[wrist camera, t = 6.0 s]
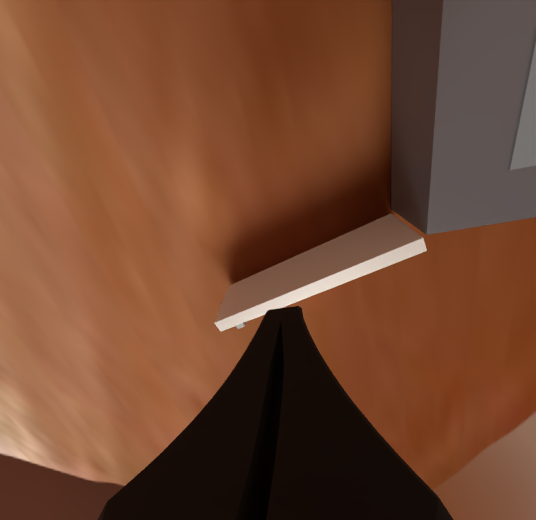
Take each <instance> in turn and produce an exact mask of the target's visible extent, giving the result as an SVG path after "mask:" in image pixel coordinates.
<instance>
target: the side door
mask: <svg viewBox="0 0 536 520" xmlns="http://www.w3.org/2000/svg"><path fill="white" fill-rule="evenodd" d="M425 251H427V250H426V246H425V243H424V240H423V238H422V237H421V236H420V235H419V234H417V233H416V232H415V231H413V230H412V229H411V228H409V227H408V226H407V225H405V224H404V223H403V222H401V221H400V220H399V219H398V218H396V217H395V216H394V215H392V214H391V213H390V214H388V215H386V216H384V217H381V218H379V219H377V220H375V221H373V222H370V223H368V224H366V225H364V226H361V227H359V228H357V229H355V230H352V231H350V232H348V233H346V234H344V235H341V236H339V237H337V238H335V239H332V240H330V241H328V242H326V243H323V244H321V245H319V246H317V247H315V248H312V249H310V250H308V251H306V252H303V253H301V254H299V255H297V256H294V257H292V258H290V259H288V260H285V261H283V262H281V263H279V264H277V265H274V266H272V267H270V268H268V269H265V270H263V271H261V272H259V273H256V274H254V275H252V276H250V277H248V278H245V279H243V280H241V281H239V282H236V283H234V284H232V285H230V286H228V288H227V291H226V294H225V296H224V299H223V301H222V304H221V307H220V309H219V312H218V315H217V317H216V320H215V322H214V323H215V325H216V326H217V327H218V328H219V330H220V331H224V330H226V329H229V328H231V327H234V326H236V327H237V328H238V329H239V328H242V327H244V326H245V324H246V321H249V320H252V319H254V318H257V317H259V316H262V315H264V314H266V312H267V311H268V310H271V309H279V308H282V307H285V306H287V305H290V304H292V303H295V302H297V301H300V300H302V299H305V298H308V297H310V296H313V295H315V294H318V293H320V292H323V291H325V290H328V289H331V288H333V287H336V286H338V285H341V284H343V283H346V282H348V281H351V280H353V279H356V278H359V277H361V276H364V275H366V274H369V273H371V272H374V271H376V270H379V269H381V268H384V267H387V266H389V265H392V264H394V263H397V262H399V261H402V260H404V259H407V258H409V257H412V256H415V255H417V254H420V253H422V252H425Z"/></svg>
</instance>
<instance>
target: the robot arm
mask: <svg viewBox="0 0 536 520" xmlns="http://www.w3.org/2000/svg"><path fill="white" fill-rule="evenodd" d="M98 520H453V518H452V517H451V515H450V514H449V513H448V511H447V509H446V508H445V507H444V505H443V503H442V502H441V500H440V499H439V497H438V496H437V495H436V494H435V493H434V492H433V491H432V490H431V488H430V487H429V486H428V485H427V484H426V483H425V482H424V481H423V480H422V479H421V478H420V477H419V476H418V475H417V474H416V473H415V472H414V471H413V470H412V469H411V468H410V467H409V466H408V465H407V464H406V463H405V461H404V460H403V459H402V458H401V457H400V456H399V455H398V454H397V453H396V452H395V451H394V450H393V448H392V447H391V446H390V445H389V444H388V443H387V442H386V441H385V440H384V438H383V437H382V436H381V435H380V434H379V433H378V432H377V430H376V429H375V428H374V427H373V426H372V424H371V423H370V422H369V421H368V420H367V418H366V417H365V416H364V415H363V414H362V412H361V411H360V410H359V409H358V407H357V406H356V405H355V404H354V403H353V401H352V400H351V399H350V397H349V396H348V395H347V393H346V392H345V391H344V389H343V388H342V386H341V385H340V384H339V382H338V381H337V379H336V378H335V376H334V375H333V374H332V372H331V370H330V369H329V367H328V366H327V364H326V363H325V361H324V359H323V358H322V356H321V354H320V353H319V351H318V349H317V347H316V345H315V343H314V341H313V339H312V337H311V335H310V333H309V331H308V329H307V326H306V324H305V321H304V318H303V313H302V308H300V307H299V306H295V307H287V308H279V309H271V310H268V311H267V312H266V314H265V316H264V318H263V320H262V322H261V324H260V326H259V328H258V330H257V332H256V333H255V335H254V337H253V339H252V341H251V342H250V344H249V346H248V347H247V349H246V351H245V353H244V354H243V356H242V357H241V359H240V360H239V362H238V363H237V365H236V366H235V368H234V369H233V371H232V372H231V374H230V375H229V377H228V378H227V379H226V381H225V382H224V383H223V385H222V386H221V387H220V389H219V390H218V391H217V393H216V394H215V395H214V396H213V398H212V399H211V400H210V401H209V402H208V404H207V405H206V406H205V407H204V408H203V409H202V411H201V412H200V413H199V414H198V415H197V416H196V418H195V419H194V420H193V421H192V422H191V423H190V424H189V425H188V426H187V427H186V428H185V429H184V430H183V431H182V432H181V433H180V435H179V436H178V437H177V438H176V439H175V440H174V441H173V442H172V443H171V444H170V445H169V446H168V447H167V448H166V449H165V450H164V451H163V452H162V453H161V454H160V455H159V456H158V457H157V458H156V459H154V460H153V461H152V462H151V463H150V464H149V465H148V466H147V467H146V468H145V469H144V470H142V471H141V472H140V473H139V474H138V475H137V476H136V477H135V478H133V479H132V480H131V481H130V482H129V483H128V484H127V485H126V486H124V487H123V488H122V489H121V490H120V491H119V492H118V493H117V494H115V495H114V496H113V497H112V498H111V499H110V500H108V501H107V503H106V505H105V507H104V509H103V511H102V513H101V514H100V516H99V518H98Z"/></svg>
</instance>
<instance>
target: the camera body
mask: <svg viewBox="0 0 536 520" xmlns="http://www.w3.org/2000/svg"><path fill="white" fill-rule="evenodd" d="M391 209H392V210H393V211H395V212H396V213H397V214H399V215H400V216H402V217H403V218H404V219H406V220H407V221H408V222H410V223H411V224H413V225H414V226H415V227H417V228H418V229H420V230H421V231H422V232H424V233H425V234H426V235H427V234H434V233H440V232H446V231H452V230H458V229H465V228H471V227H477V226H483V225H490V224H496V223H502V222H508V221H514V220H521V219H527V218H533V217H536V0H392V130H391Z"/></svg>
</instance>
